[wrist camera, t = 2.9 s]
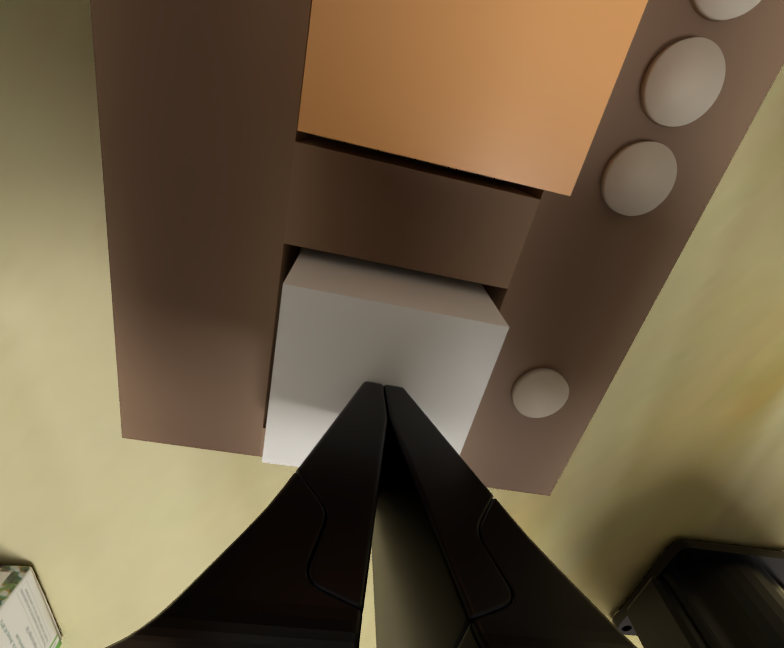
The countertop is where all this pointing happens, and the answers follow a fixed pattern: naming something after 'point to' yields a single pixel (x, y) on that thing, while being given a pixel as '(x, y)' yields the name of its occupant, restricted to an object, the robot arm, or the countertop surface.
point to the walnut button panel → (393, 217)
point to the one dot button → (376, 347)
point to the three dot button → (468, 80)
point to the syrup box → (25, 611)
